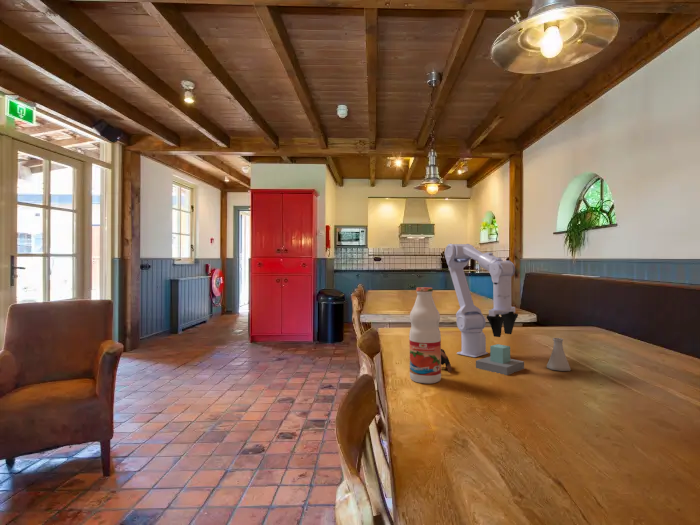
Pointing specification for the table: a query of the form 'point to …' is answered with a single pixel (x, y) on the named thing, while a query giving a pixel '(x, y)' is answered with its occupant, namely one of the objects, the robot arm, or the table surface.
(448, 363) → the brown broken pot
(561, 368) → the flask
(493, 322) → the robot arm
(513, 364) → the gray base
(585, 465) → the table surface
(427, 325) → the fruit juice
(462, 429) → the table surface
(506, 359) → the teal block
